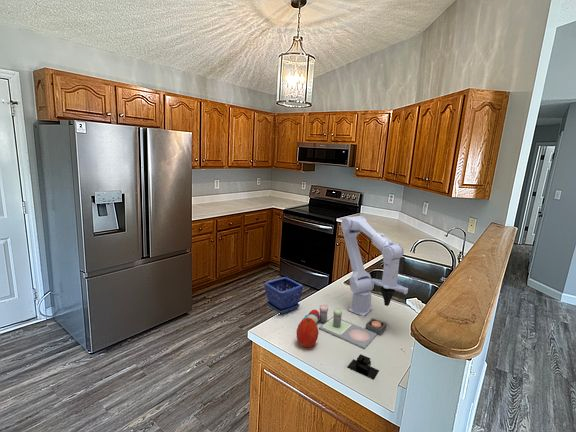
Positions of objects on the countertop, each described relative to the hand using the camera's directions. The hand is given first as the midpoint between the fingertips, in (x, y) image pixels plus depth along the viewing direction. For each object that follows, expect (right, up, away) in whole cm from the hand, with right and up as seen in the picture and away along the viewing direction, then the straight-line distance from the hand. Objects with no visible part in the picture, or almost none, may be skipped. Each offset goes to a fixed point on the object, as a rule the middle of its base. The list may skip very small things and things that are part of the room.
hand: (386, 304), depth 127 cm
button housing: (-5, -10, 0) cm, 11 cm away
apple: (-34, -12, -11) cm, 37 cm away
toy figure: (-31, -10, +1) cm, 33 cm away
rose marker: (-26, -9, +4) cm, 28 cm away
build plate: (-16, -16, -23) cm, 32 cm away
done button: (-4, -10, 0) cm, 11 cm away
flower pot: (-43, -6, +15) cm, 46 cm away
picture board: (-17, -10, -2) cm, 20 cm away
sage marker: (-21, -9, +1) cm, 23 cm away
